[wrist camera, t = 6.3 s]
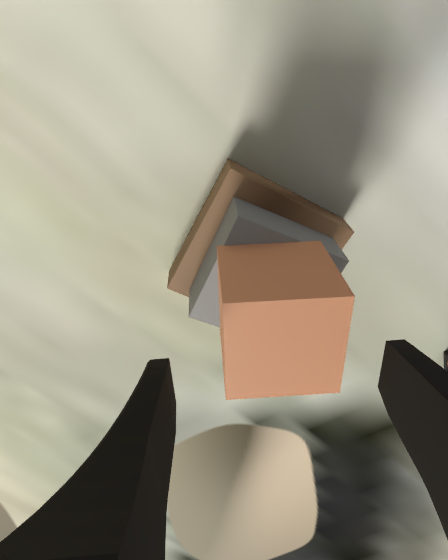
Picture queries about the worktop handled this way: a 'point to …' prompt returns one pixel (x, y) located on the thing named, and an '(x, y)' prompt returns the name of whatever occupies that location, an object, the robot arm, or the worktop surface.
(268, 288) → the terracotta cube
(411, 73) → the worktop surface
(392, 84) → the worktop surface
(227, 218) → the grey slab
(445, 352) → the ammunition clip
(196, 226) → the walnut slab
